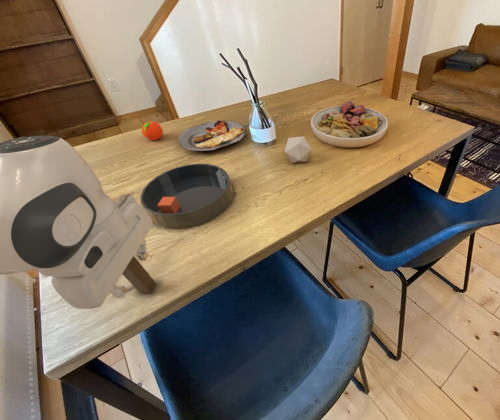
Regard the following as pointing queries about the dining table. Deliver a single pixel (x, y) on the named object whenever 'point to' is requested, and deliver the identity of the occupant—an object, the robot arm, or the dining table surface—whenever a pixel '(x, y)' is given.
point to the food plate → (212, 135)
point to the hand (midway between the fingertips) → (133, 275)
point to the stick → (139, 277)
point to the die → (297, 149)
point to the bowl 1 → (188, 195)
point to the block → (168, 205)
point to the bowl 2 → (349, 125)
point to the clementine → (152, 130)
